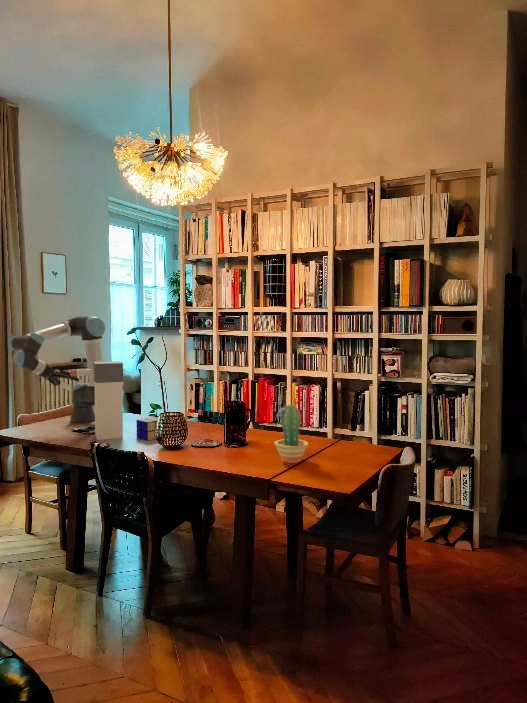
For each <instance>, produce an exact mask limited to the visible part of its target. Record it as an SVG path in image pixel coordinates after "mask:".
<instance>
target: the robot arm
mask: <svg viewBox="0 0 527 703" xmlns="http://www.w3.org/2000/svg"><path fill="white" fill-rule="evenodd" d="M105 331H106V325H105V322H104V321H103V320H102V319H101V318H100V317H98V316H75V317H73V318H70V319H67V320H64V321H61V322H60V323H58V324H56V325H52V326H50V327H49V326H48V327H46V328H43V329H39V330H35V331H33V332H29V333H26V334H22V335H18V336H11V337H10V338H9V339H8V341H7V346H8V348H9V349H10V350H12V351H16V352H15V353H14V355H13V357H12V363H13V364H14V365H16V366H19V367H20V368H23V369H25V370H27V371H30V372H31V373H33V374H34V375H39V376H40V377H41V378H43V379H44V380H47V381H48V382H49V383H50V384H52V385H53V386H55V387H56V386H59V387H60V388H63V389H64V390H67V391H69V392H70V391H71V388H72V410H71V415H70V417H69V419H70V420H69V421H70V422H71V423H79V422H80V423H89V422H88V421H91V422H94V421H93V420H95V409H94V406H95V384H94V383H93V380H94V375H90V376H88V380H89V381H88V383H87V382H86V383H84V379H81V378H79V377H78V376H70V371H67V370H62V369H60V368H56V369H53V365H52V364H49V363H47V362H46V361H43V360H41V359H39V358H37V355H38V354H39V352H40V350H41V348H42V346H43V344H44V343H48V342H51V341H54V340H57V339H60V338H69V337H73V336H75V337H76V336H80V337H81V341H82V342H83V343H84V346H85V358H86V366H87V369H93V362H103V359H102V349H101V342H100V341H101V340H102V339H103V335H104V334H105ZM60 378H61V379H66V380H71V381H72V382H74V383H75V384H73V386H71V385H70V384H68V383H65V382H64V381H61V380H60Z"/></svg>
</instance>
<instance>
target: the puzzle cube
mask: <svg viewBox="0 0 527 703" xmlns="http://www.w3.org/2000/svg"><path fill="white" fill-rule="evenodd" d="M158 419H159V418H156V417H146V418H139V419H136V439H137V440H138V439H139V440H142V441H145V442H146V441H147V442H150V441H154V440H156V439H155V428H156V424H157V421H158Z"/></svg>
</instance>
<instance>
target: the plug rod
mask: <svg viewBox="0 0 527 703" xmlns="http://www.w3.org/2000/svg"><path fill="white" fill-rule="evenodd" d="M69 372H70V376H75V377H85V376H87V377H89V376H90V375H95V369H88V368H86V369H69Z"/></svg>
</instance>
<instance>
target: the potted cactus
mask: <svg viewBox="0 0 527 703" xmlns="http://www.w3.org/2000/svg"><path fill="white" fill-rule="evenodd" d="M301 417H302V415H301V412H300V410H299V409H298V407H297V406H296V405H294V404H291V405H290V404H286V405H285V406H283V407H280V408H279V409H278V412H277V413H276V419H277V421H278V422H279V420H280V426H281V428H282V432H283V439H282V438H281V439H279V440H275V441H274V446H275V448H276V450H277V452H278V455H279V456H280V457H281V458H280V460H281V462H284V463H289V464H291V463H293V464H294V463H300V462H301V461H302V459H301V458H302V456H304V454H305V451H306V448H308V447H309V442H308V441H306V440H303V439H299V429H300V425H301Z"/></svg>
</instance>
